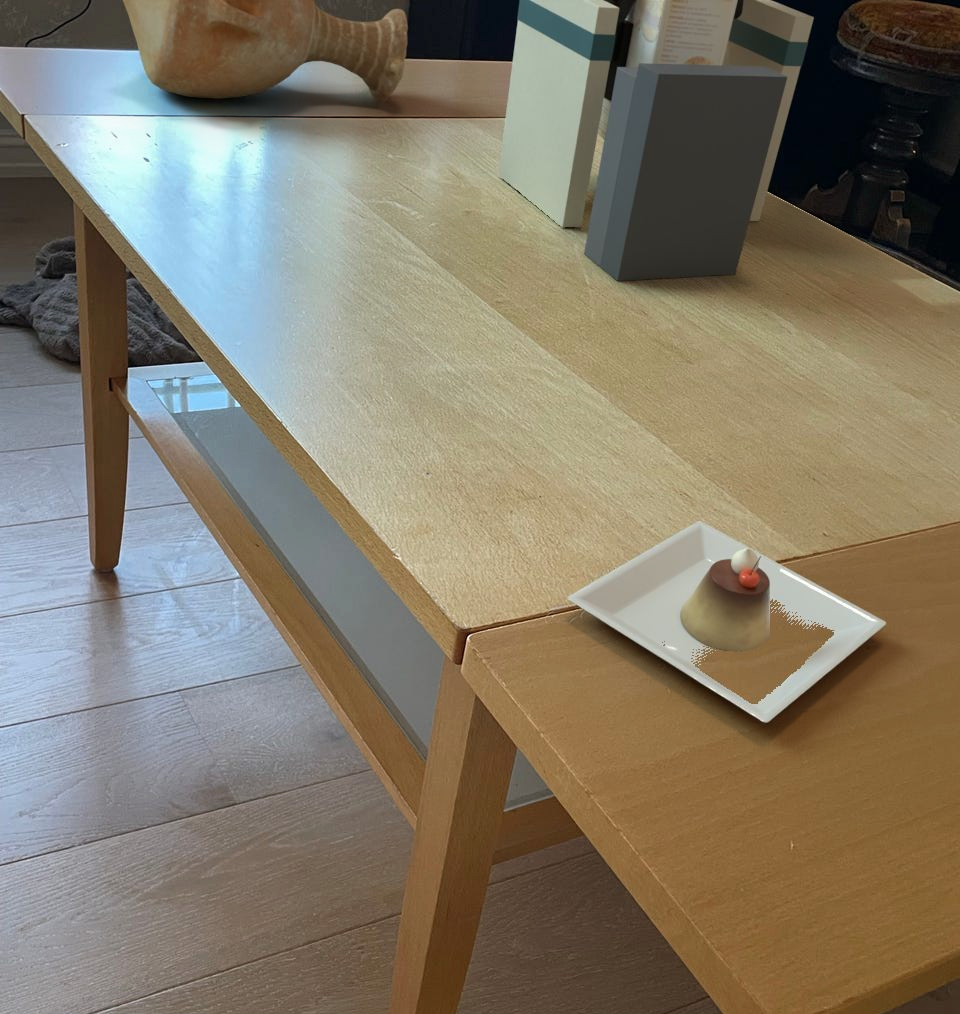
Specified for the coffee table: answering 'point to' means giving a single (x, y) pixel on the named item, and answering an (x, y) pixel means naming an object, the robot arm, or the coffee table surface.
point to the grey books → (681, 168)
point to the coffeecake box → (676, 35)
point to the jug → (260, 45)
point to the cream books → (581, 87)
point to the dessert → (721, 609)
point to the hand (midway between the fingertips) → (647, 98)
